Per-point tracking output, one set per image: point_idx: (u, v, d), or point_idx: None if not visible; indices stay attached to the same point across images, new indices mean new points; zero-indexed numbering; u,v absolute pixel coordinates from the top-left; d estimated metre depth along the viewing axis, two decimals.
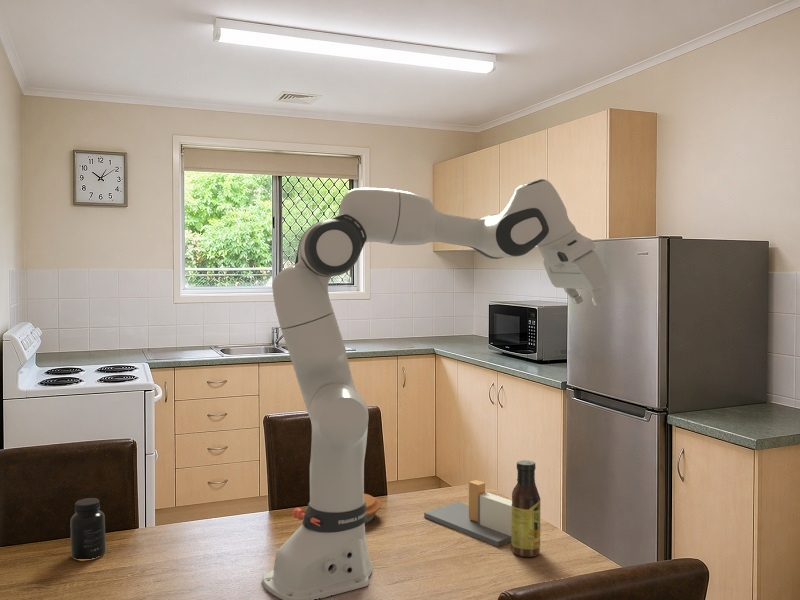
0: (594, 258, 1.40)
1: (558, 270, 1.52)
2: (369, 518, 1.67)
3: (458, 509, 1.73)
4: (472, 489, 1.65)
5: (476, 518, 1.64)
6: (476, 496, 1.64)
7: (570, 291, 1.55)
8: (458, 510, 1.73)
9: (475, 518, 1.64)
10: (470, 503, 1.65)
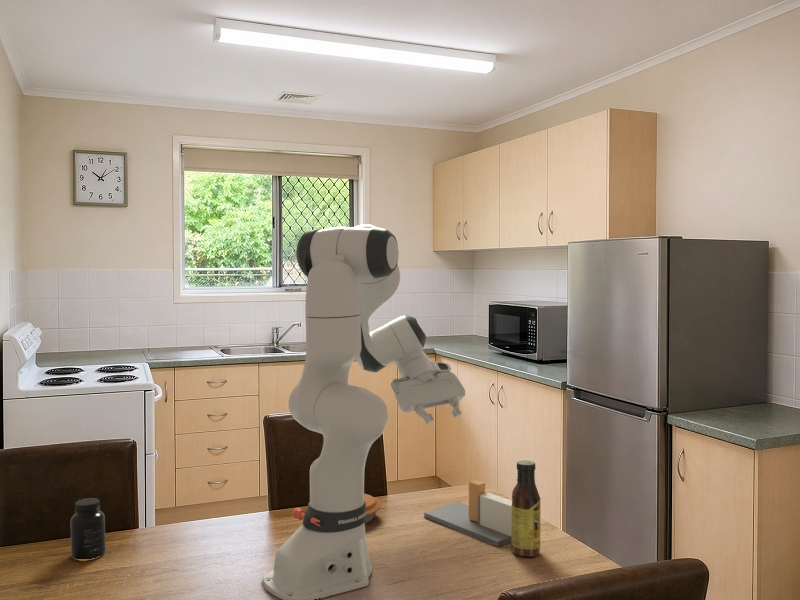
0: None
1: (420, 387, 1.75)
2: (369, 518, 1.67)
3: (458, 509, 1.73)
4: (472, 489, 1.65)
5: (476, 518, 1.64)
6: (476, 496, 1.64)
7: None
8: (458, 510, 1.73)
9: (475, 518, 1.64)
10: (470, 503, 1.65)
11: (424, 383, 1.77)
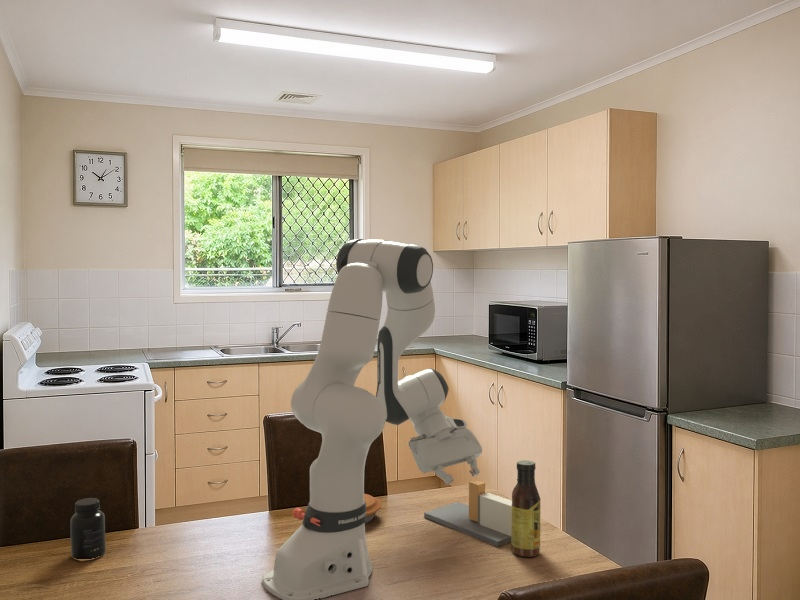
0: None
1: (438, 446, 1.70)
2: (369, 518, 1.67)
3: (458, 509, 1.73)
4: (472, 489, 1.65)
5: (476, 518, 1.64)
6: (476, 496, 1.64)
7: None
8: (458, 510, 1.73)
9: (475, 518, 1.64)
10: (470, 503, 1.65)
11: (441, 441, 1.72)
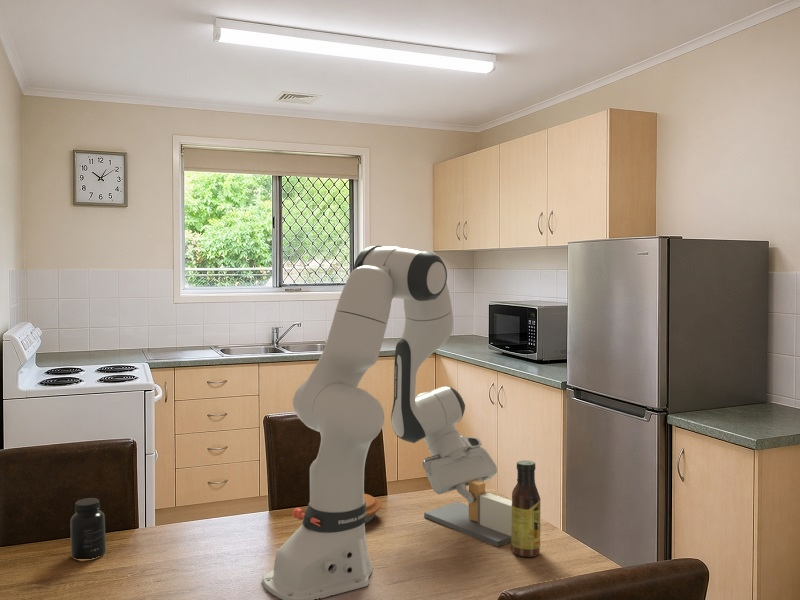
0: None
1: (452, 466, 1.66)
2: (369, 518, 1.67)
3: (458, 509, 1.73)
4: (472, 489, 1.65)
5: (476, 518, 1.64)
6: (476, 496, 1.64)
7: None
8: (458, 510, 1.73)
9: (475, 518, 1.65)
10: (470, 503, 1.65)
11: (456, 461, 1.68)
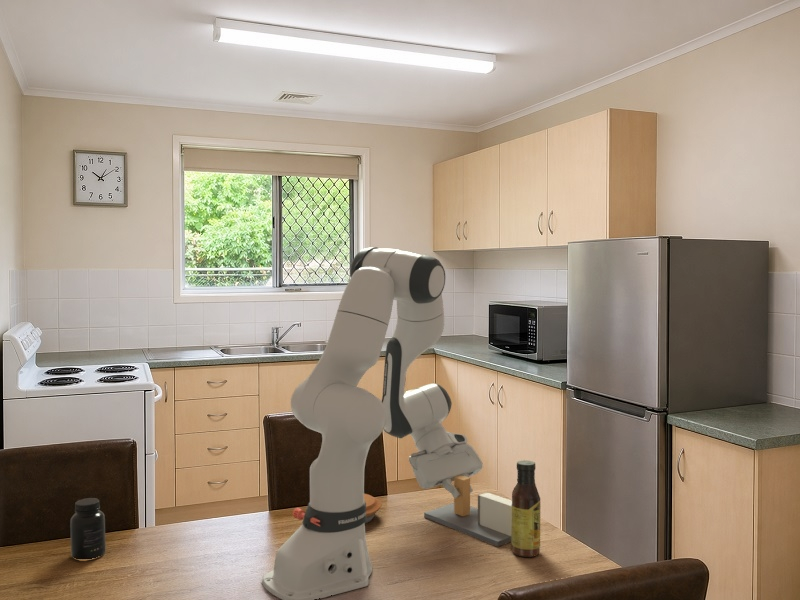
0: None
1: (438, 462, 1.70)
2: (369, 518, 1.67)
3: None
4: (457, 484, 1.68)
5: (461, 512, 1.68)
6: (461, 491, 1.68)
7: None
8: None
9: (460, 512, 1.68)
10: (455, 498, 1.69)
11: (442, 457, 1.72)
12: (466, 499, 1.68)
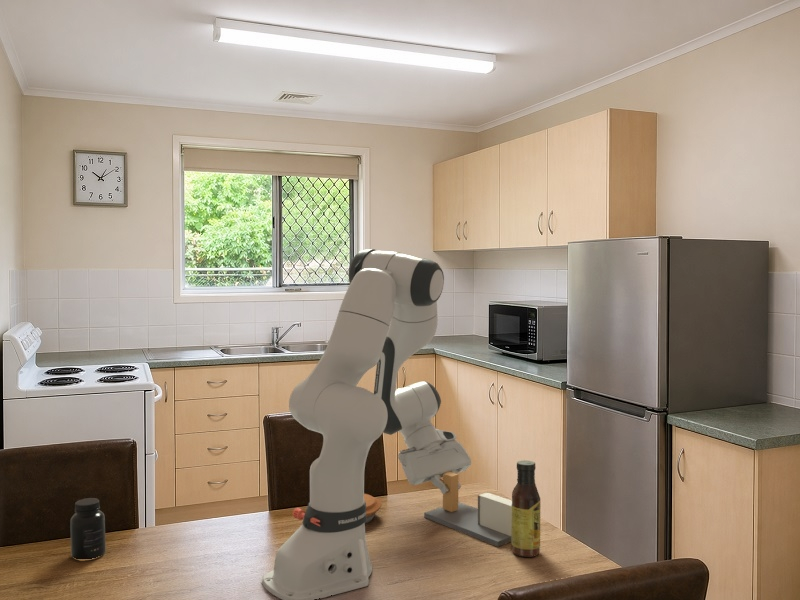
0: None
1: (427, 458, 1.73)
2: (369, 518, 1.67)
3: (458, 509, 1.73)
4: (446, 480, 1.71)
5: (450, 508, 1.71)
6: (449, 487, 1.71)
7: None
8: (458, 510, 1.73)
9: (448, 508, 1.71)
10: (444, 494, 1.72)
11: (431, 454, 1.75)
12: (454, 495, 1.71)
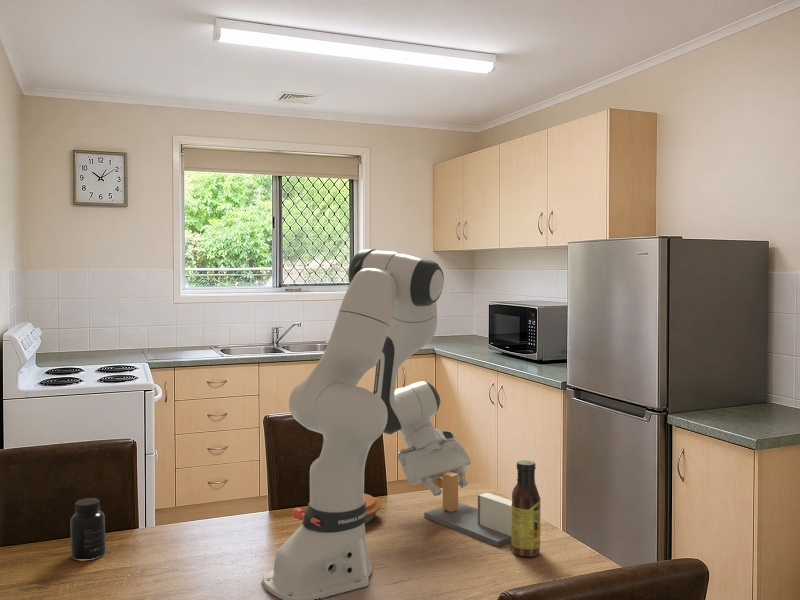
0: None
1: (427, 458, 1.73)
2: (369, 518, 1.67)
3: (458, 509, 1.73)
4: (446, 480, 1.72)
5: (450, 508, 1.71)
6: (449, 487, 1.71)
7: None
8: (458, 510, 1.73)
9: (448, 508, 1.71)
10: (444, 494, 1.72)
11: (430, 453, 1.75)
12: (454, 495, 1.71)
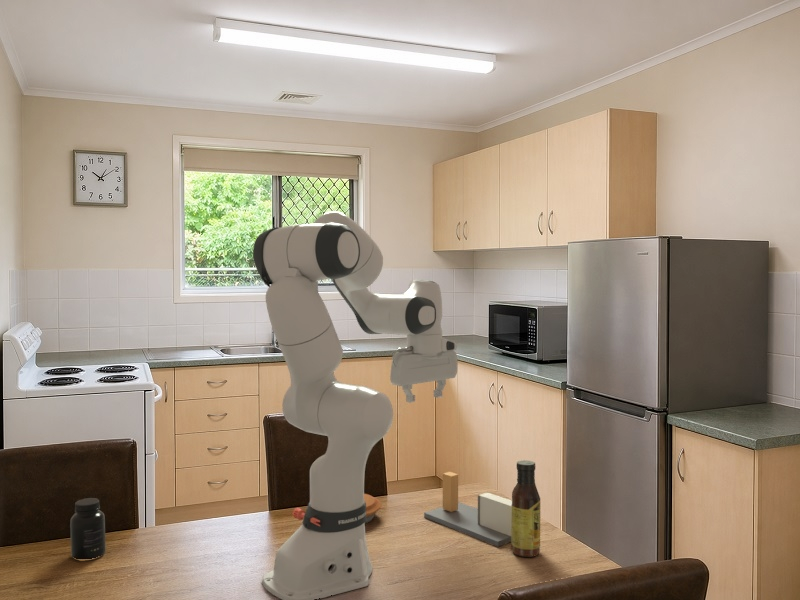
0: None
1: (418, 365, 1.69)
2: (369, 518, 1.67)
3: (458, 509, 1.73)
4: (446, 480, 1.72)
5: (450, 508, 1.71)
6: (449, 487, 1.71)
7: None
8: (458, 510, 1.73)
9: (448, 508, 1.71)
10: (444, 494, 1.72)
11: (424, 360, 1.70)
12: (454, 495, 1.71)
